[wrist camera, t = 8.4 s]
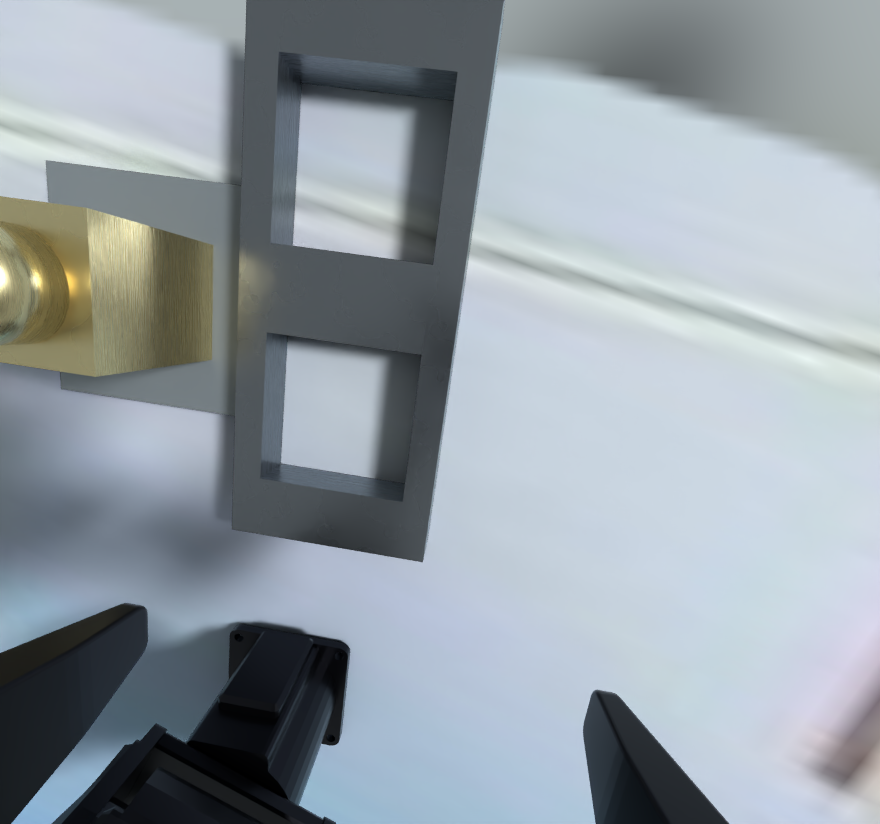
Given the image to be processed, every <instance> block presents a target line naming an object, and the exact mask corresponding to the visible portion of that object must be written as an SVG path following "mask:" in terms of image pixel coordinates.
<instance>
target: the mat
mask: <svg viewBox="0 0 880 824" xmlns="http://www.w3.org/2000/svg"><path fill="white" fill-rule="evenodd" d="M46 173H47V187H48V202H49V203H54V204H62V205H69V206H77V207H84V208H89V209H92V210H96V211H99V212H103V213H106V214H110V215H113V216H116V217H120V218H123V219H127V220H130V221H133V222H137V223H140V224H144V225H147V226H150V227H154V228H157V229H161V230H164V231H167V232H171V233H174V234H178V235H181V236H184V237H188V238H191V239H195V240H198V241H201V242H205V243H208V244H212V245H213V317H212V360H208V361H201V362H194V363H187V364H180V365H174V366H167V367H160V368H153V369H146V370H139V371H132V372H125V373H119V374H112V375H105V376H98V377H93V376H86V375H80V374H73V373H67V372H60V378H61V389H66V390H72V391H78V392H85V393H91V394H97V395H104V396H110V397H116V398H123V399H129V400H135V401H142V402H148V403H154V404H161V405H167V406H173V407H180V408H186V409H192V410H199V411H205V412H211V413H218V414H224V415H230V416H235V397H236V361H237V325H238V289H239V253H240V217H241V185H233V184H225V183H217V182H210V181H202V180H194V179H186V178H179V177H171V176H163V175H155V174H148V173H140V172H132V171H124V170H117V169H109V168H101V167H93V166H86V165H78V164H70V163H62V162H55V161H47V160H46Z"/></svg>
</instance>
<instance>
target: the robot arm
mask: <svg viewBox="0 0 880 824" xmlns="http://www.w3.org/2000/svg"><path fill="white" fill-rule="evenodd" d="M240 634H241V635H242V636H241V635H240ZM147 642H148V617H147V610H146V608H145V607H144V606H141V605H135V604H130V603H124V604H120V605H118V606H115V607H113V608H110V609H108V610H105V611H103V612H101V613H98V614H96V615H93V616H91V617H88V618H86V619H83V620H81V621H78V622H76V623H73V624H71V625H68V626H66V627H63V628H61V629H59V630H56V631H54V632H51V633H49V634H46V635H44V636H41V637H39V638H36V639H34V640H31V641H29V642H26V643H24V644H22V645H19V646H17V647H14V648H12V649H9V650H7V651H4V652H2V653H0V824H11V823H12V822H13V821H14V820H15V818H16V817H17V816H18V815H19V814H20V812H21V811H22V810H23V809H24V808H25V806H26V805H27V804H28V803H29V801H30V800H31V799H32V798H33V797H34V795H35V794H36V793H37V792H38V791H39V789H40V788H41V787H42V786H43V785H44V783H45V782H46V781H47V780H48V779H49V777H50V776H51V775H52V774H53V773H54V771H55V770H56V769H57V768H58V767H59V765H60V764H61V763H62V762H63V761H64V759H65V758H66V757H67V756H68V755H69V753H70V752H71V751H72V750H73V749H74V747H75V746H76V745H77V744H78V742H79V741H80V740H81V739H82V737H83V736H84V735H85V733H86V732H87V731H88V729H89V728H90V727H91V725H92V724H93V723H94V721H95V720H96V719H97V717H98V716H99V714H100V713H101V712H102V710H103V709H104V707H105V706H106V705H107V703H108V702H109V700H110V699H111V698H112V696H113V695H114V693H115V692H116V691H117V689H118V688H119V686H120V685H121V684H122V682H123V681H124V679H125V678H126V677H127V675H128V674H129V672H130V671H131V670H132V668H133V667H134V665H135V664H136V663H137V661H138V660H139V658H140V657H141V656H142V654H143V652H144V650H145V648H146V646H147ZM338 652H340V653H342V654H339V653H338ZM349 659H350V648H349V647H348V646H347V645H346V644H345V643H342V642H336V641H331V640H325V639H320V638H314V637H309V636H303V635H298V634H292V633H287V632H282V631H276V630H271V629H265V628H260V627H254V626H249V625H243V624H240V625H237V626H236V627H235V628H234V630H233V631H232V632H231V634H230V649H229V681H228V682H227V684H226V685H225V686H224V688H223V689H222V691H221V692H220V694H219V695H218V697H217V698H216V700H215V701H214V703H213V704H212V705H211V707H210V708H209V710H208V711H207V713H206V714H205V716H204V717H203V719H202V720H201V721H200V723H199V724H198V726H197V727H196V729H195V730H194V732H193V733H192V735H191V736H190V738H189V739H188V740H187V742H186V743H185V742H183V741H181V740H179V739H177V738H176V737H174V736H172V735H170V734H168V733H166V731H167V729H165V728H164V727H162V726H160V725H158V724H155V725H154V726H153V727H152V728H151V730H150V731H149V732H148V733H147V734H146V735H145V736H144V738H143V739H142V740H141V741H139V740H136V741H135V742H134V743H133V744H129V745H125V746H124V747H123V748H122V749H121V751H120V752H119V753H118V754H117V755H116V757H115V758H114V759H113V760H112V761H111V763H110V764H109V765H108V766H107V767H106V769H105V770H104V771H103V772H102V773H101V775H100V776H99V777H98V778H97V779H96V781H95V782H94V783H93V784H92V785H91V786H90V787H89V788H88V789H87V790H86V791H85V792H84V793H83V794H82V795H81V796H80V797H79V798H78V799H77V800H76V801H75V802H74V803H73V804H72V805H71V806H70V807H69V808H68V809H67V810H66V811H65V812H63V813H62V814H61V815H60V816H59V817H58V818H57V819H56V820H55V821H54V822H53V823H52V824H336V822H334V821H332V820H330V819H328V818H327V817H324V818H323V819H322V818H321V817H319V816H317V815H315V814H313V813H312V812H310V811H308V810H306V809H304V808H302V807H301V806H299V803H300V801H301V798H302V795H303V792H304V790H305V787H306V784H307V781H308V779H309V776H310V773H311V770H312V768H313V765H314V762H315V759H316V757H317V754H318V751H319V748H320V746H321V744H326V745H336V744H337V743H338V742H339V740H340V737H341V733H342V725H343V716H344V706H345V697H346V687H347V678H348V669H349ZM583 737H584V744H585V751H586V758H587V765H588V773H589V780H590V787H591V794H592V801H593V808H594V815H595V822H596V824H729V823H728V822H727V821H726V819H725V818H724V817H723V816H722V815H721V814H720V813H719V811H718V810H717V809H716V808H715V807H714V806H713V804H712V803H711V802H710V801H709V800H708V799H707V798H706V796H705V795H704V794H703V793H702V792H701V791H700V789H699V788H698V787H697V786H696V785H695V784H694V783H693V781H692V780H691V779H690V778H689V777H688V776H687V774H686V773H685V772H684V771H683V770H682V769H681V767H680V766H679V765H678V764H677V763H676V762H675V761H674V759H673V758H672V757H671V756H670V755H669V754H668V752H667V751H666V750H665V749H664V748H663V747H662V746H661V744H660V743H659V742H658V741H657V740H656V739H655V737H654V736H653V735H652V734H651V733H650V732H649V731H648V729H647V728H646V727H645V726H644V725H643V724H642V722H641V721H640V720H639V719H638V718H637V717H636V715H635V714H634V713H633V712H632V711H631V710H630V709H629V707H628V706H627V705H626V704H625V703H624V702H623V700H622V699H621V698H620V697H619V696H618V695H617V694H615V693H612V692H607V691H602V690H595V691H593V693H592V695H591V698H590V702H589V706H588V709H587V713H586V717H585V720H584V726H583Z"/></svg>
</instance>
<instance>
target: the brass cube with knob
mask: <svg viewBox="0 0 880 824" xmlns="http://www.w3.org/2000/svg"><path fill="white" fill-rule="evenodd" d="M212 317H213V245H212V244H208V243H205V242H201V241H198V240H195V239H191V238H188V237H184V236H181V235H178V234H174V233H171V232H167V231H164V230H161V229H157V228H154V227H150V226H147V225H144V224H140V223H137V222H133V221H130V220H127V219H123V218H120V217H116V216H113V215H110V214H106V213H103V212H99V211H96V210H92V209H89V208H84V207H77V206H69V205H62V204H54V203H47V202H39V201H32V200H24V199H16V198H9V197H1V196H0V362H2V363H8V364H15V365H21V366H28V367H34V368H41V369H47V370H54V371H60V372H67V373H73V374H80V375H86V376H93V377H98V376H105V375H112V374H119V373H125V372H132V371H139V370H146V369H153V368H160V367H167V366H174V365H180V364H187V363H194V362H201V361H208V360H212Z"/></svg>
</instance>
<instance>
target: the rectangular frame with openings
mask: <svg viewBox="0 0 880 824" xmlns="http://www.w3.org/2000/svg"><path fill="white" fill-rule="evenodd" d="M504 4H505V0H247V2H246V37H245V73H244V109H243V145H242V181H241V217H240V253H239V289H238V325H237V361H236V397H235V433H234V469H233V505H232V529H233V530H239V531H245V532H250V533H256V534H262V535H268V536H274V537H279V538H285V539H291V540H297V541H303V542H309V543H314V544H320V545H326V546H332V547H338V548H343V549H349V550H355V551H361V552H367V553H373V554H378V555H384V556H390V557H396V558H402V559H407V560H413V561H419V562H423V559H424V554H425V550H426V545H427V540H428V534H429V527H430V520H431V513H432V506H433V499H434V492H435V486H436V479H437V472H438V465H439V458H440V451H441V444H442V437H443V431H444V424H445V417H446V410H447V403H448V396H449V389H450V382H451V376H452V369H453V362H454V355H455V348H456V341H457V334H458V327H459V320H460V314H461V307H462V300H463V293H464V286H465V279H466V272H467V265H468V259H469V252H470V245H471V238H472V231H473V224H474V217H475V210H476V204H477V197H478V190H479V183H480V176H481V169H482V162H483V155H484V148H485V142H486V135H487V128H488V121H489V114H490V107H491V100H492V93H493V87H494V80H495V73H496V66H497V59H498V52H499V45H500V38H501V31H502V25H503V15H504ZM301 83H306V84H315V85H323V86H332V87H341V88H349V89H358V90H367V91H375V92H384V93H393V94H401V95H410V96H418V97H427V98H436V99H444V100H453V101H454V105H453V113H452V120H451V128H450V136H449V144H448V152H447V160H446V167H445V175H444V183H443V191H442V199H441V207H440V214H439V222H438V230H437V238H436V246H435V254H434V261H433V265H431V264H423V263H416V262H409V261H401V260H394V259H386V258H379V257H372V256H364V255H357V254H350V253H342V252H335V251H328V250H320V249H313V248H305V247H298V246H293V228H294V210H295V191H296V173H297V155H298V136H299V118H300V100H301ZM288 335H289V336H295V337H302V338H309V339H316V340H323V341H330V342H336V343H343V344H350V345H357V346H364V347H370V348H377V349H384V350H391V351H398V352H404V353H411V354H418V355H422V356H421V363H420V371H419V379H418V387H417V395H416V403H415V410H414V418H413V426H412V434H411V442H410V450H409V457H408V465H407V473H406V481H405V484H403V483H397V482H390V481H384V480H378V479H372V478H366V477H360V476H354V475H347V474H341V473H335V472H329V471H323V470H317V469H311V468H304V467H298V466H292V465H286V464H281V447H282V429H283V411H284V392H285V374H286V356H287V337H288Z"/></svg>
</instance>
